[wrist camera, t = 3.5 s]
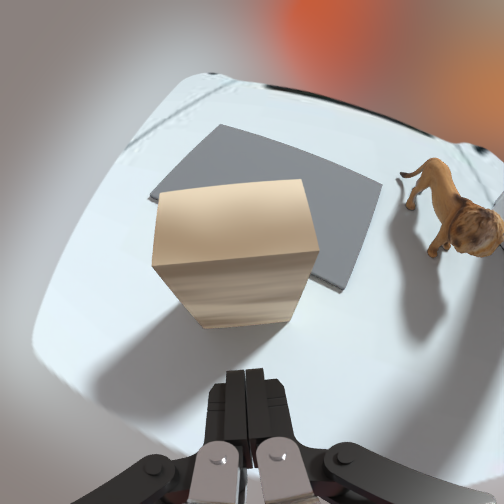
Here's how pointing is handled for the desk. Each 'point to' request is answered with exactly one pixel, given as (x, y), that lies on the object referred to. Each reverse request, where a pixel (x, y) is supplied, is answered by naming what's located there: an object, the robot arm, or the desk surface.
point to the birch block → (236, 250)
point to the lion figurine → (456, 214)
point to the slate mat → (288, 168)
